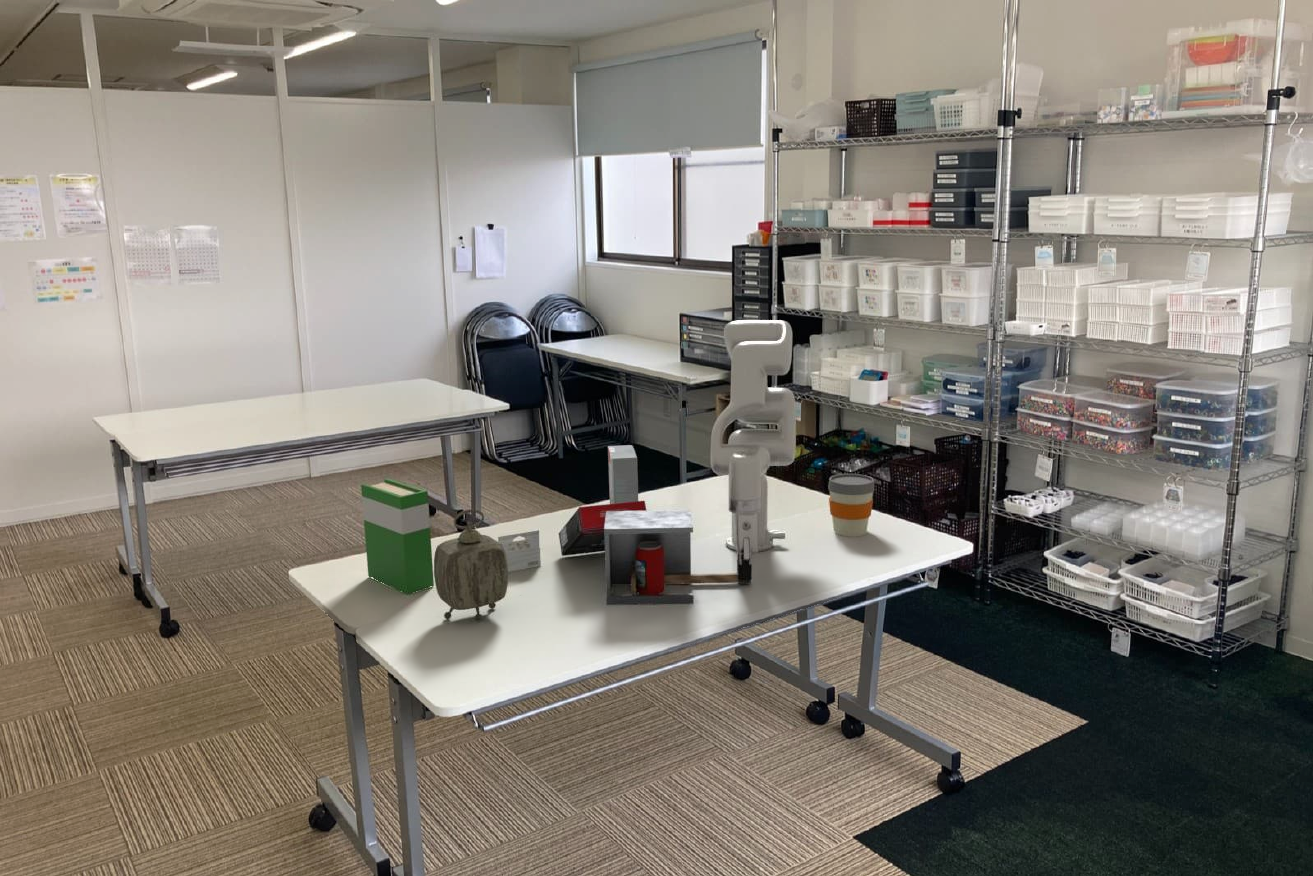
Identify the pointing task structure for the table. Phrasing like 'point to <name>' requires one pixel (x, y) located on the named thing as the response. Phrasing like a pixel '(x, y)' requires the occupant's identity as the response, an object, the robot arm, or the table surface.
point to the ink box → (521, 550)
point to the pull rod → (692, 578)
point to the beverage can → (649, 568)
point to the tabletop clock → (470, 570)
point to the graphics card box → (590, 527)
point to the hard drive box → (622, 474)
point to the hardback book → (398, 535)
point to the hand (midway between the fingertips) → (744, 577)
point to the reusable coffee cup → (850, 503)
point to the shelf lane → (639, 527)
